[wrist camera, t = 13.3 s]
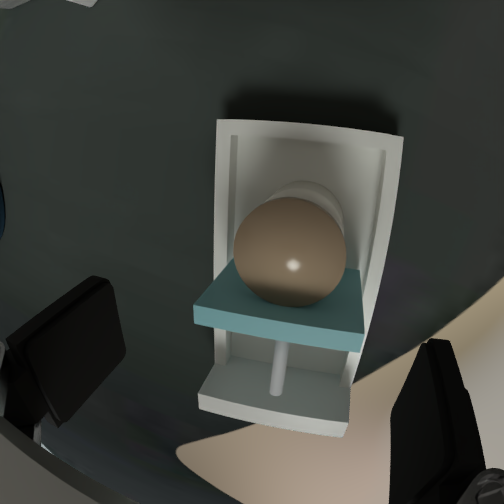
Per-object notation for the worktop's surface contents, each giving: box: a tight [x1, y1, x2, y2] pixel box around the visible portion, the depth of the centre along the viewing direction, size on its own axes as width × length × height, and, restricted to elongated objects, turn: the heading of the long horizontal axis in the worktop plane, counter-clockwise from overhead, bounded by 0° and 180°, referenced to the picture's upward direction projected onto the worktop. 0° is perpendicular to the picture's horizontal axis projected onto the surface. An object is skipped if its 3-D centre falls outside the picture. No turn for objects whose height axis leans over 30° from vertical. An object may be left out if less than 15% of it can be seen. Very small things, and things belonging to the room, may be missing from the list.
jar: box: [233, 181, 346, 307], centre depth 20 cm, size 6×6×7 cm
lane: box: [198, 119, 403, 437], centre depth 22 cm, size 12×22×6 cm, turn 177°
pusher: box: [193, 257, 365, 396], centre depth 21 cm, size 9×9×8 cm
